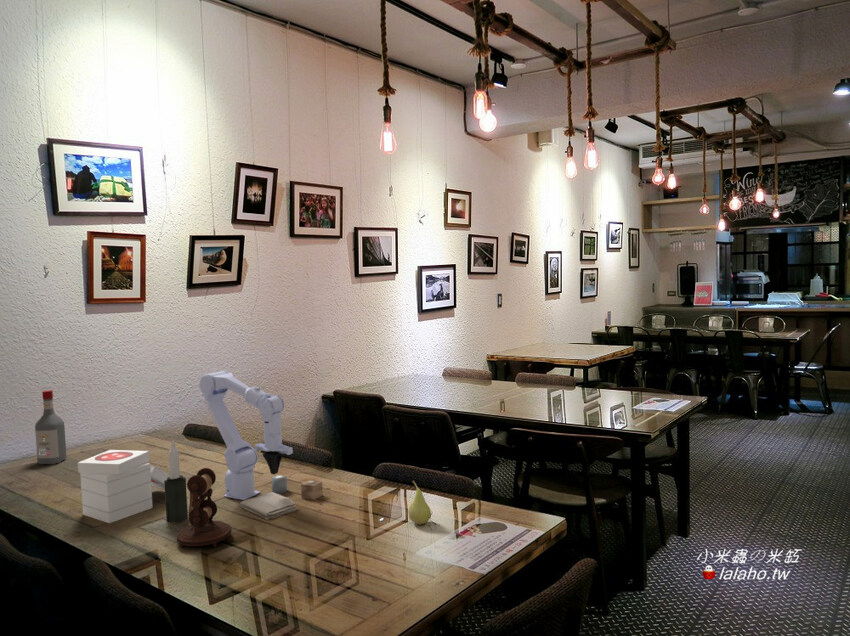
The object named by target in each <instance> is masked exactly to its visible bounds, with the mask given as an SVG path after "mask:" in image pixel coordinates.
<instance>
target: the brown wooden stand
mask: <svg viewBox="0 0 850 636" xmlns="http://www.w3.org/2000/svg"><path fill="white" fill-rule="evenodd" d="M216 479H217V475H216V473H215V471H214V470H212V469H211V468H208V467H203V468H201V469H200V470H198V472H197V473H196V474H195V475H192V476H191V477H189V479H188V480H187V481H186V489H187V490H188V491H189V506H188V518H187V519H188V521H189V522H188V523H189V525H187V526H185V527H184V528H181V530H180V531H178V533H177V534H176V542H177V543H178V545H179V547H180V548H183V547H184V546H186V547H203V546H208V545H212V546H213V547H214V548H216V547H217V545H218V543H219V542H221V541H223V540H225V539H227V538H228V537H230V536H231V534H232V526H231V524H229V523H227V522H224V521H221V520H213V519H214V517H215V516H216V515H217V512H218V506H217V504H216V502H215V501H213V500H212V495H213V493H214V492H213V488H211V487H212V486H213V485H214V484H215V482H216Z"/></svg>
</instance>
